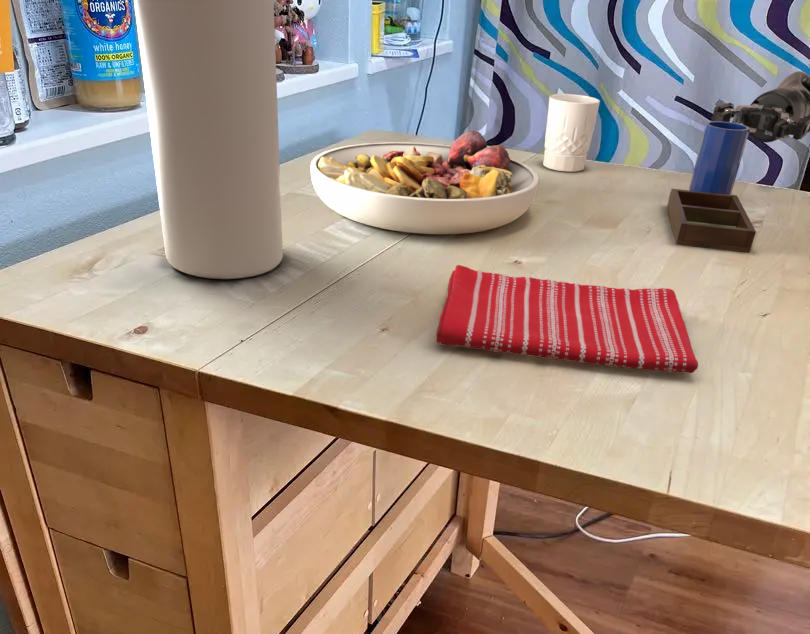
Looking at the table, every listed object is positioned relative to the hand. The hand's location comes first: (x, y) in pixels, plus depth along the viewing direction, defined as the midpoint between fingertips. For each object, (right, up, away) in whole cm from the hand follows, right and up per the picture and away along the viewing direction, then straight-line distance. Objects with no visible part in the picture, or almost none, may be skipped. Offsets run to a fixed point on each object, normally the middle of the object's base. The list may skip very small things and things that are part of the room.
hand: (747, 127), depth 123 cm
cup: (-7, -12, -2) cm, 14 cm away
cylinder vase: (-72, -33, -35) cm, 86 cm away
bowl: (-50, -18, -14) cm, 55 cm away
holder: (-12, -21, -14) cm, 28 cm away
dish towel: (-37, -43, -44) cm, 72 cm away
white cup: (-26, -2, +9) cm, 28 cm away
